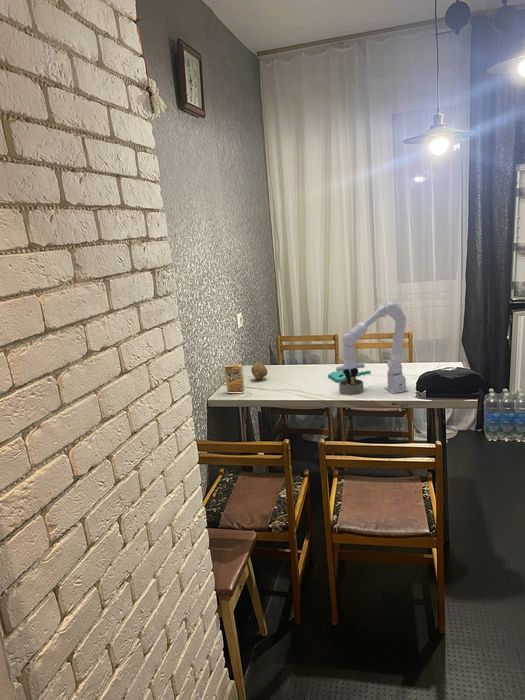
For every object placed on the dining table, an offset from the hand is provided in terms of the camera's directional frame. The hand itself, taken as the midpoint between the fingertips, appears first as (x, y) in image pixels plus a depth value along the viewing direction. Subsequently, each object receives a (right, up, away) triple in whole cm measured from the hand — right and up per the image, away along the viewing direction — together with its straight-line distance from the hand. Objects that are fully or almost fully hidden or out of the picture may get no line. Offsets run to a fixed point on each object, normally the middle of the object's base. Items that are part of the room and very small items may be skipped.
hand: (351, 383), depth 250 cm
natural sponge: (-46, -1, +35) cm, 58 cm away
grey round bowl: (0, -4, +1) cm, 4 cm away
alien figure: (+2, +1, +24) cm, 24 cm away
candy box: (-59, -6, +15) cm, 61 cm away
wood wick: (0, -3, +1) cm, 3 cm away
